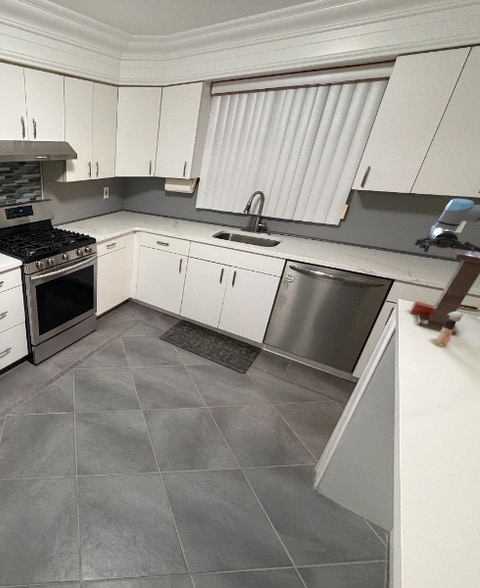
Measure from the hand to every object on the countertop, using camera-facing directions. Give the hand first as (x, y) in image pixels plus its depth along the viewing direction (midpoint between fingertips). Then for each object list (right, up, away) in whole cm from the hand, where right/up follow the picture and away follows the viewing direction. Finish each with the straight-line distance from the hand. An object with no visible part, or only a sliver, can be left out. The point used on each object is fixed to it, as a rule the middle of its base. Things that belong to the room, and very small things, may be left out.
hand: (449, 252), depth 129 cm
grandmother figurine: (-26, -35, -19) cm, 48 cm away
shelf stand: (-14, -29, -6) cm, 33 cm away
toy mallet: (-8, -24, +4) cm, 26 cm away
